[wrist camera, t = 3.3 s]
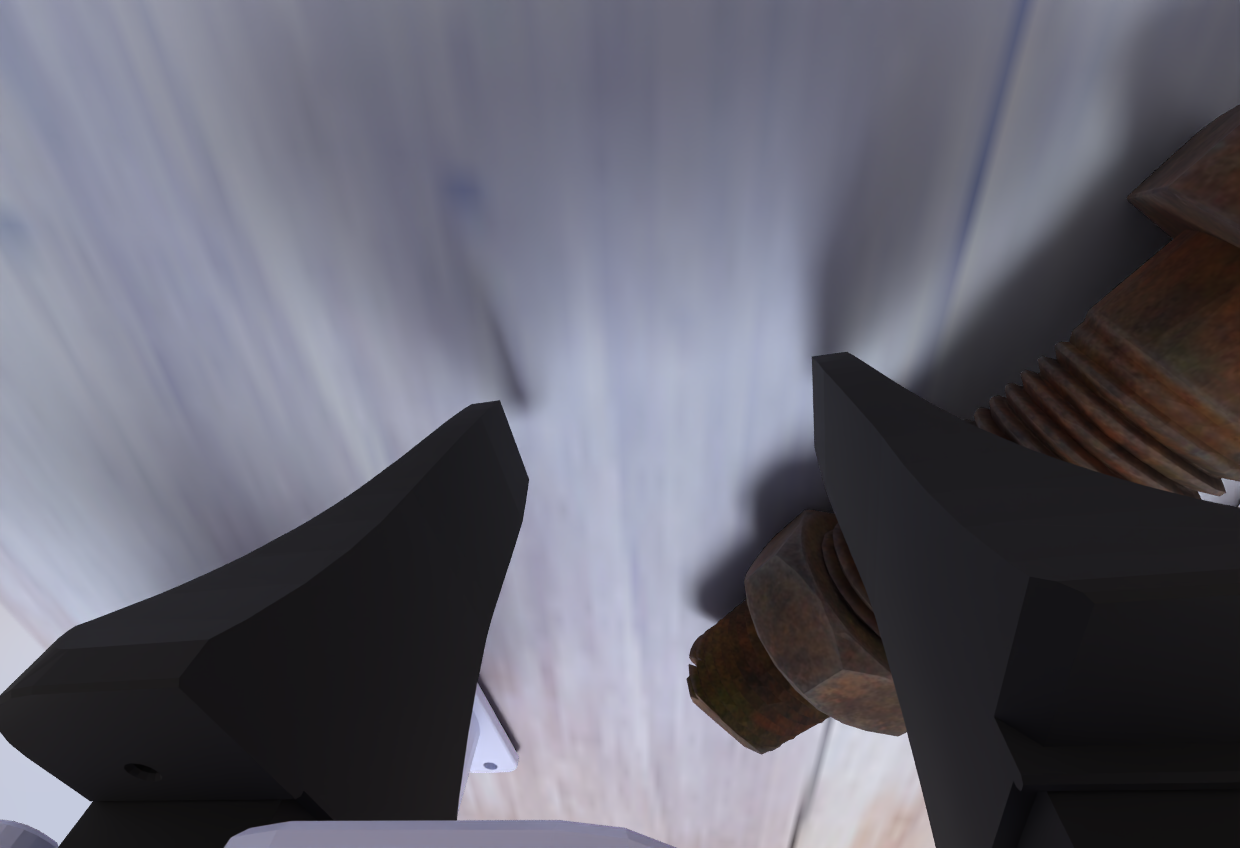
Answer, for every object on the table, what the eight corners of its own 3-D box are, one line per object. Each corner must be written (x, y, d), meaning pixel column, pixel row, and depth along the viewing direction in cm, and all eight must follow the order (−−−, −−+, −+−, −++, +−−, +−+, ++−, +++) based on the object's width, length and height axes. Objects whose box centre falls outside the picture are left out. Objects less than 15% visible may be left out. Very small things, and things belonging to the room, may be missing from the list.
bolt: (702, 573, 18) (1190, 126, 10) (823, 698, 17) (1471, 309, 9) (605, 692, 14) (1365, 37, 6) (764, 872, 13) (1977, 388, 5)
